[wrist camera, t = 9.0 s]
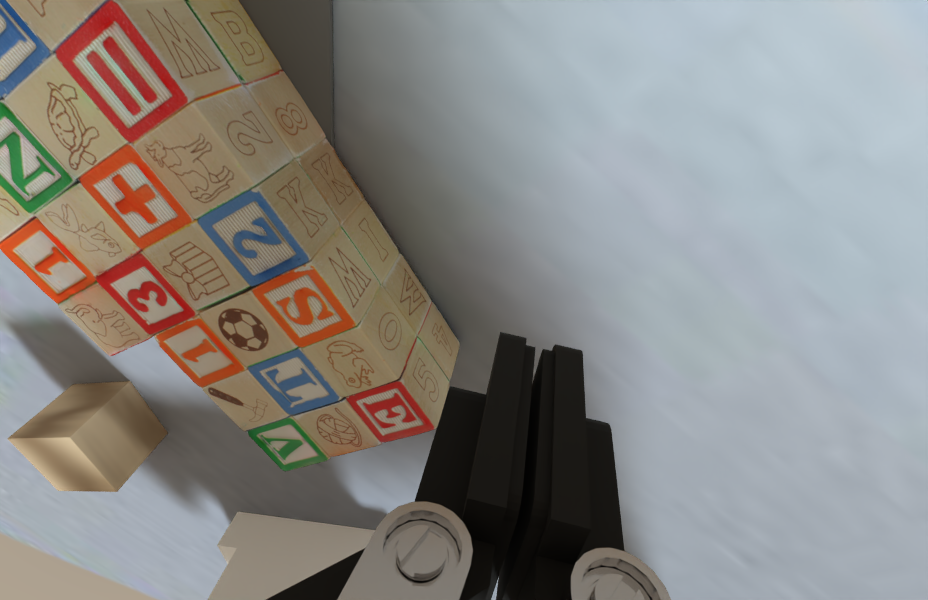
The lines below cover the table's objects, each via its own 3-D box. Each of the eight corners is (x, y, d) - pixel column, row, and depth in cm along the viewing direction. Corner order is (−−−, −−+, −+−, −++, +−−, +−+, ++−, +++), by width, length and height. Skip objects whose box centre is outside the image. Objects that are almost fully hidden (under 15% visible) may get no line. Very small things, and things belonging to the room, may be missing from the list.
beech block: (130, 380, 33) (69, 437, 29) (168, 432, 36) (117, 491, 32) (73, 383, 34) (7, 438, 30) (114, 433, 37) (58, 490, 33)
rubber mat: (330, -161, 16) (326, -164, 16) (335, 308, 27) (333, 311, 26) (-8, -214, 17) (-16, -217, 17) (128, 264, 27) (124, 266, 27)
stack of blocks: (441, 433, 21) (244, 485, 26) (465, 343, 26) (297, 400, 31) (9, -134, 12) (-169, 105, 17) (174, -102, 17) (1, 74, 22)
